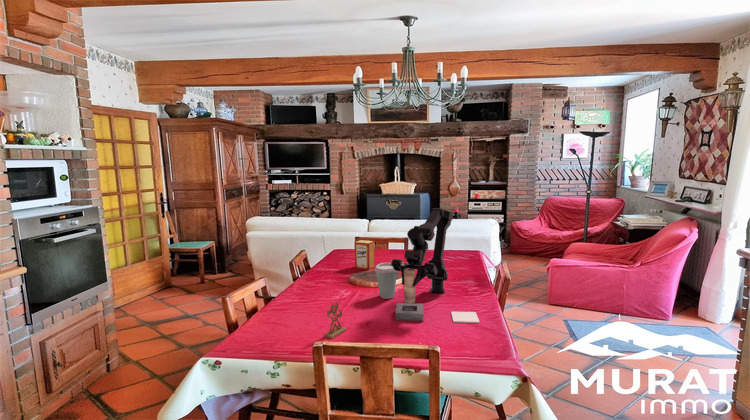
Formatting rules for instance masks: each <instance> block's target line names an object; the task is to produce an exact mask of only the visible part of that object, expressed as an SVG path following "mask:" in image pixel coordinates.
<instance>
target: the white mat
mask: <svg viewBox="0 0 750 420" xmlns="http://www.w3.org/2000/svg"><path fill="white" fill-rule="evenodd" d="M450 315H451V318H452V322H453V323H458V324H459V323H461V324H463V323H465V324H480V319H479V317H478V314H477V312H475V311H450Z"/></svg>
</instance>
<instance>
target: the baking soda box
mask: <svg viewBox="0 0 750 420" xmlns="http://www.w3.org/2000/svg"><path fill="white" fill-rule="evenodd" d="M375 258H376V257H375V241H374V240H373V241H372V240H364V239H363V240H362V239H359V240H357V241H354V268H355V269H359V270H365V271H370V270H373V269H375V267H376V265H375V264H376V263H375Z"/></svg>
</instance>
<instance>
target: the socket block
mask: <svg viewBox="0 0 750 420" xmlns="http://www.w3.org/2000/svg"><path fill="white" fill-rule="evenodd" d="M394 313H395V321H404V322H407V321H409V322H413V321H414V322H424V317H425V316H424V315H425V314H424V303H405V302H404V303H402V302H401V303H400V302H397V303H396V307H395V312H394Z"/></svg>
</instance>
